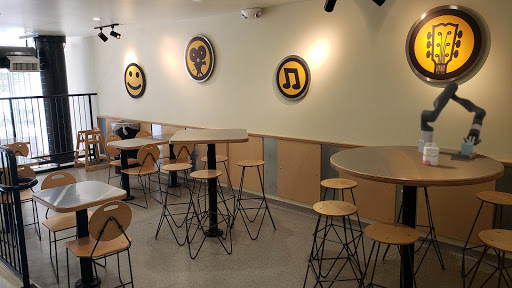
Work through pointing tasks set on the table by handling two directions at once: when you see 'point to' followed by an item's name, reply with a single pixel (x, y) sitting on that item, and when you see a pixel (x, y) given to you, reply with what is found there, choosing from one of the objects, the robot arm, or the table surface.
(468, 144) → the slate block
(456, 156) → the walnut chute
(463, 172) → the table surface
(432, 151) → the ink cartridge box
